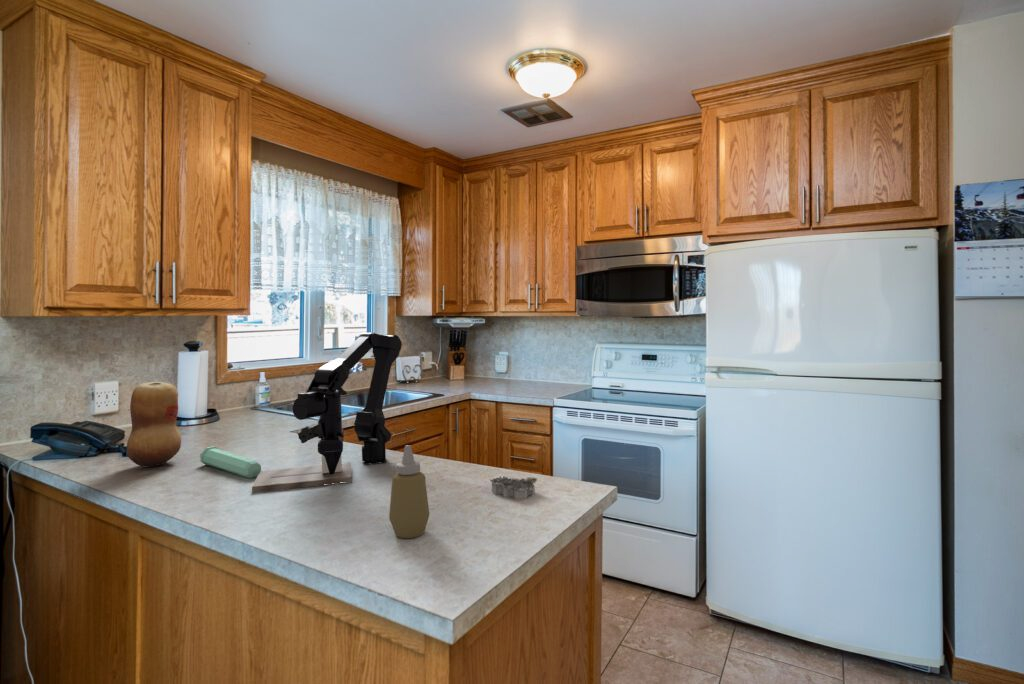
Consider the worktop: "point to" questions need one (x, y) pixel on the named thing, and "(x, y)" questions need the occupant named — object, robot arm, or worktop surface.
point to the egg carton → (513, 487)
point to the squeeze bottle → (408, 498)
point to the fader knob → (325, 467)
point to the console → (299, 478)
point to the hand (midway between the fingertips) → (332, 469)
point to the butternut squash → (153, 424)
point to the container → (230, 462)
